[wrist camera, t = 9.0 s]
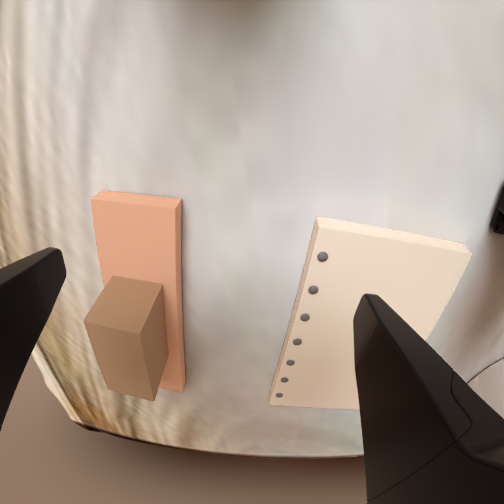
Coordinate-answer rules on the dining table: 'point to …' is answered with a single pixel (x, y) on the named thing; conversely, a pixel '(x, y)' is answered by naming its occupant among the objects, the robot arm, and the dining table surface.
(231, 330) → the dining table surface
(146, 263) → the stub
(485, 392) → the utensil holder
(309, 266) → the board
